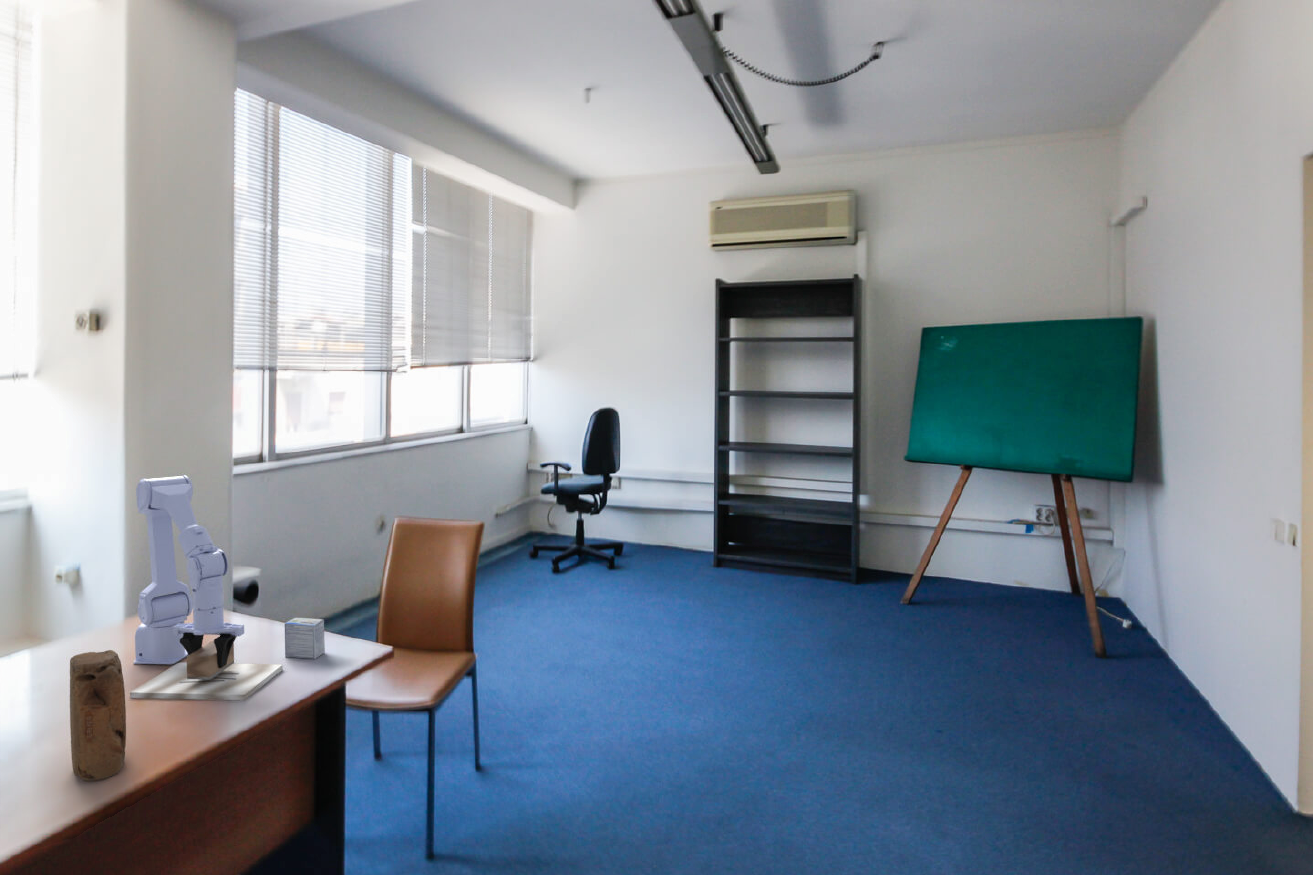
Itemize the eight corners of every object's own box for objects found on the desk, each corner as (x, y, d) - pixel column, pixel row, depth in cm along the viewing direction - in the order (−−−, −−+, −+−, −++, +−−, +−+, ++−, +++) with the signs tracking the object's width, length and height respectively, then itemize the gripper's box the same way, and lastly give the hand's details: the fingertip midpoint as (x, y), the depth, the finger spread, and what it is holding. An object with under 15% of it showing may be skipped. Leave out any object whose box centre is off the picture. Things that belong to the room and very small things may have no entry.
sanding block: (187, 678, 156) (186, 656, 156) (212, 662, 165) (211, 641, 165) (210, 679, 156) (209, 657, 156) (234, 663, 165) (233, 641, 165)
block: (71, 762, 127) (66, 652, 125) (123, 749, 132) (119, 643, 130) (74, 790, 119) (69, 672, 117) (130, 774, 124) (126, 662, 122)
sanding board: (129, 697, 152) (129, 691, 152) (179, 667, 168) (178, 662, 168) (244, 700, 153) (244, 694, 152) (282, 669, 169) (282, 664, 168)
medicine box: (325, 652, 179) (325, 618, 179) (315, 659, 175) (314, 624, 174) (295, 650, 180) (294, 616, 179) (284, 657, 176) (283, 622, 175)
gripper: (162, 611, 155) (164, 672, 156) (231, 613, 155) (232, 674, 156) (184, 601, 162) (185, 659, 163) (249, 602, 162) (250, 661, 163)
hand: (209, 665), depth 160 cm, fingers closed on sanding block, 5 cm apart
